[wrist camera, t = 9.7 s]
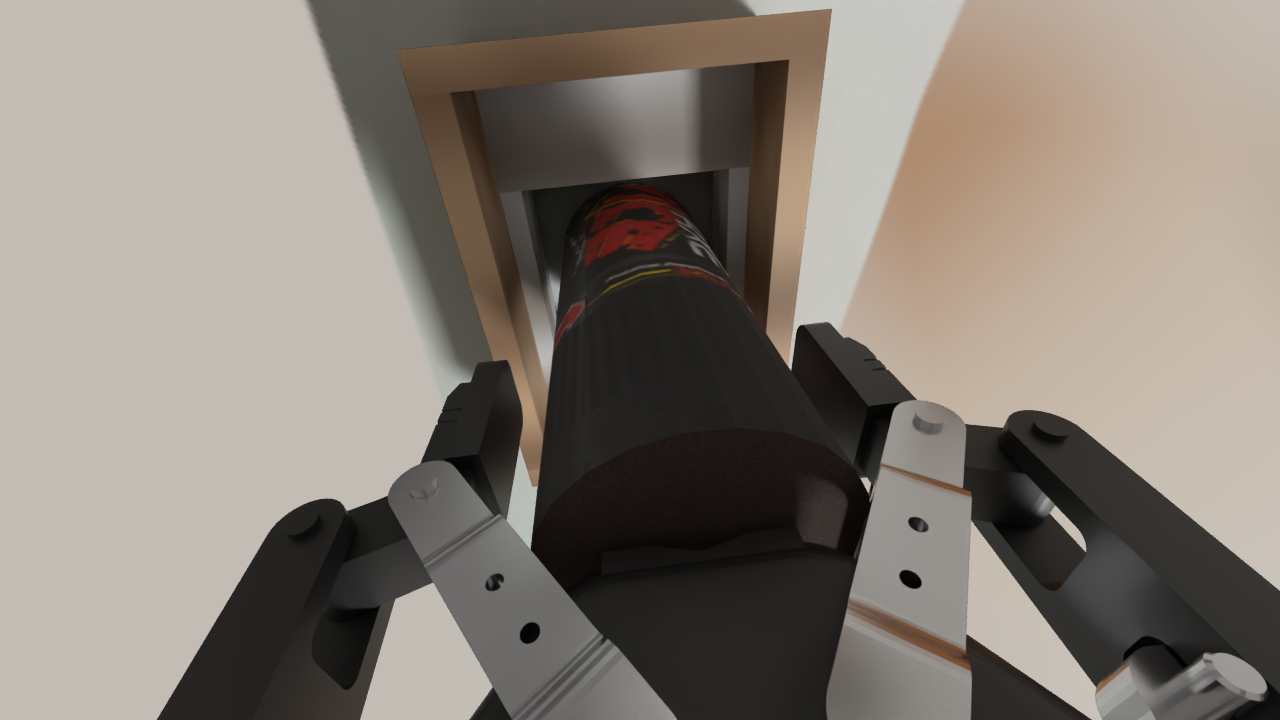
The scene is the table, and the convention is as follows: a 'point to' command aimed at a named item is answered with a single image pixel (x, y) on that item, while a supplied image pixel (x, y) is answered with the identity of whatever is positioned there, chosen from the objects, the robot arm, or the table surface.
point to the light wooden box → (621, 157)
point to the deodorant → (672, 403)
